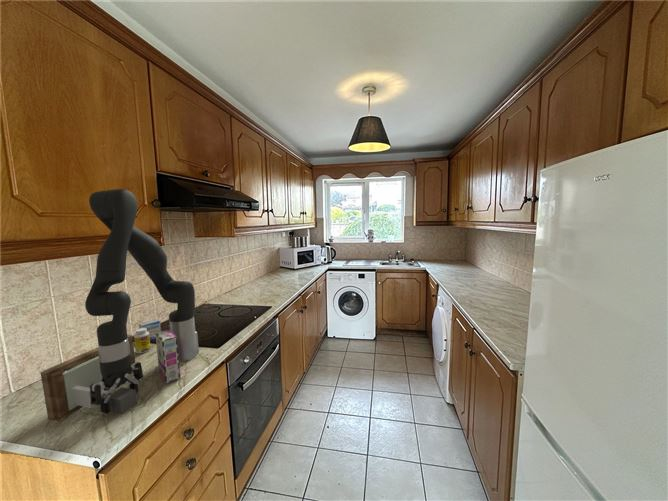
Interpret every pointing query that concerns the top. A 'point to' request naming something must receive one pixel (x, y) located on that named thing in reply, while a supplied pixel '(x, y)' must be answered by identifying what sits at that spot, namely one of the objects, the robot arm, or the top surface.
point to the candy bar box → (167, 355)
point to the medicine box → (151, 328)
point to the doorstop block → (122, 400)
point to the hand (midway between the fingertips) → (120, 403)
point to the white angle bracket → (81, 383)
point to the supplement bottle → (142, 340)
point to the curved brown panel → (55, 383)
